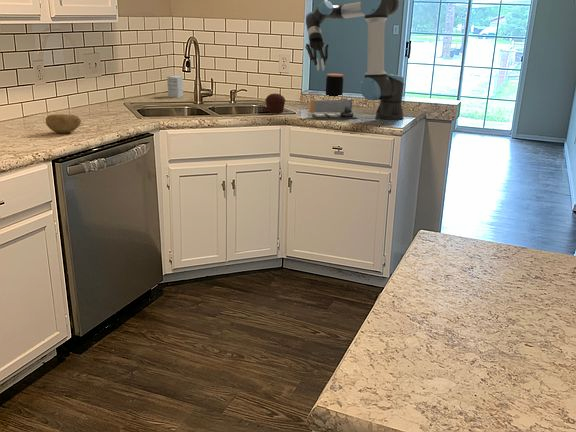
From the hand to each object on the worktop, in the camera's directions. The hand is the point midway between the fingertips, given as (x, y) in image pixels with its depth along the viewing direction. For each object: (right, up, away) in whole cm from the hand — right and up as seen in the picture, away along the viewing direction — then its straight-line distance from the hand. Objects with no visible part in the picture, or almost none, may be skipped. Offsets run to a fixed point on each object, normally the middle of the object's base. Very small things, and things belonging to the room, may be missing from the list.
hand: (321, 69), depth 317 cm
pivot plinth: (+14, -27, -2) cm, 30 cm away
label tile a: (+6, -27, -4) cm, 28 cm away
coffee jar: (+11, -9, +49) cm, 51 cm away
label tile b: (-1, -27, -5) cm, 28 cm away
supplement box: (-90, -4, +53) cm, 105 cm away
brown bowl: (-114, -45, -69) cm, 140 cm away
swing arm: (+5, -24, -5) cm, 25 cm away
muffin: (-25, -22, +7) cm, 35 cm away
